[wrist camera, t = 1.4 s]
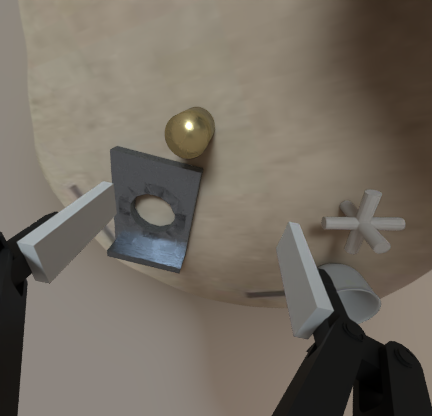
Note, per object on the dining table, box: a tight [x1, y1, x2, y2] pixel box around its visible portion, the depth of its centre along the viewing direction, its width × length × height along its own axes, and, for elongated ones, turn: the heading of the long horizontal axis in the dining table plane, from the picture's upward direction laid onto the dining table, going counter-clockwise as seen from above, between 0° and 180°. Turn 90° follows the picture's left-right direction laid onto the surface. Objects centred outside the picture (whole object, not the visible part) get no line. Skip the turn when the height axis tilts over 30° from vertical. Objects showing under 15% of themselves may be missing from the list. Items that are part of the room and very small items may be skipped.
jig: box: [107, 146, 203, 273], centre depth 35 cm, size 20×14×5 cm
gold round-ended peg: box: [165, 107, 215, 159], centre depth 26 cm, size 5×5×7 cm
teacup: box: [317, 263, 381, 324], centre depth 39 cm, size 14×11×8 cm
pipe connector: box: [321, 189, 405, 254], centre depth 28 cm, size 10×10×10 cm
